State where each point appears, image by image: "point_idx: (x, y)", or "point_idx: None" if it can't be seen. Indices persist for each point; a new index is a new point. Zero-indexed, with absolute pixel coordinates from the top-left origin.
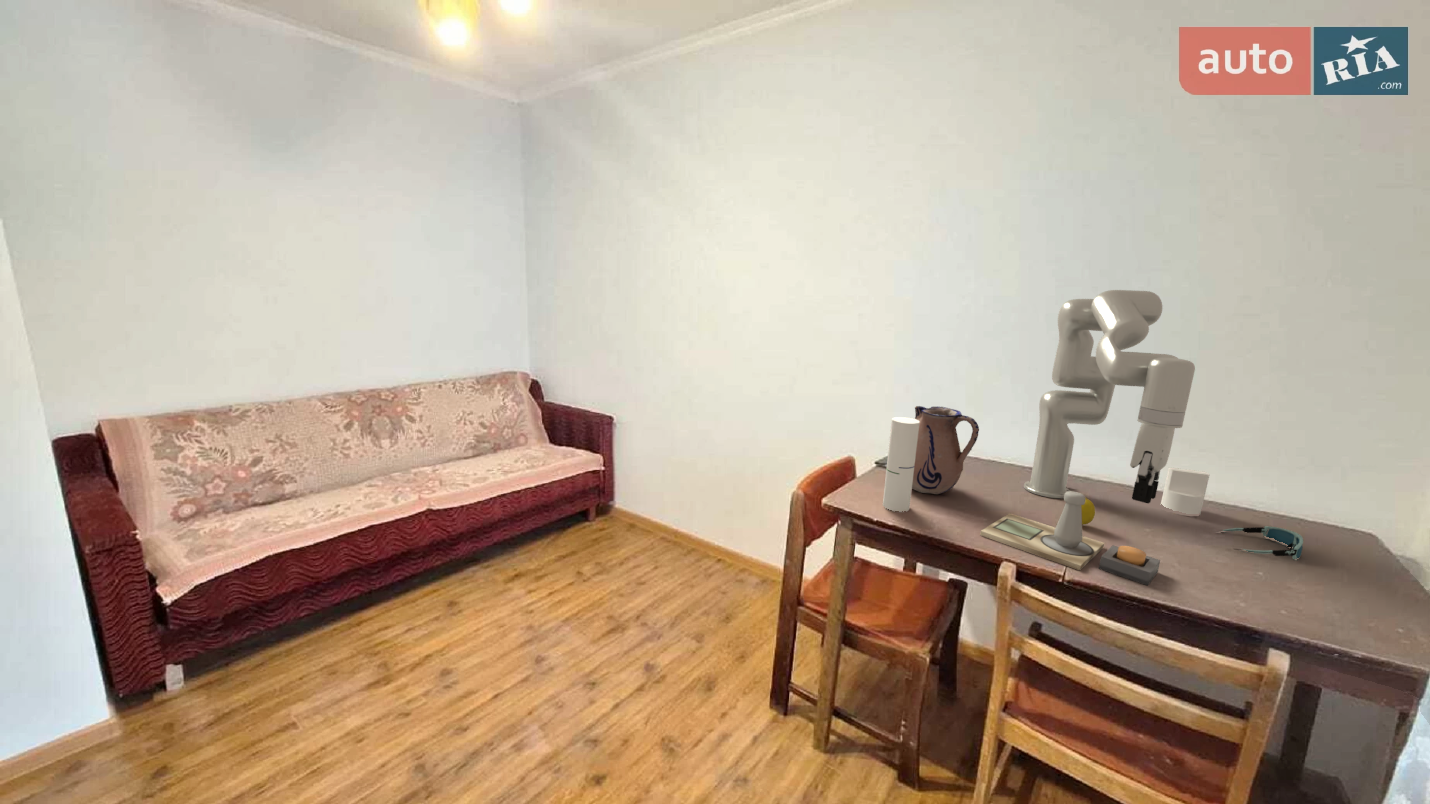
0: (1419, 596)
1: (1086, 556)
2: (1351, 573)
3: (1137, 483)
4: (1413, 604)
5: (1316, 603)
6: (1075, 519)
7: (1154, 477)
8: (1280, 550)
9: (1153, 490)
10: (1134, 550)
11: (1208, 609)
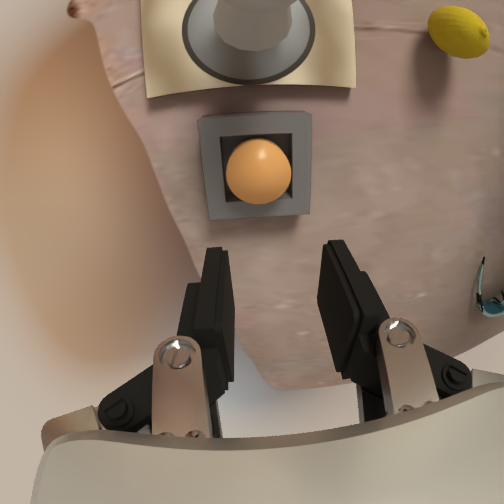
0: None
1: (217, 81)
2: (463, 333)
3: (195, 334)
4: None
5: None
6: (229, 19)
7: (358, 384)
8: (480, 301)
9: (327, 327)
10: (269, 177)
11: None
